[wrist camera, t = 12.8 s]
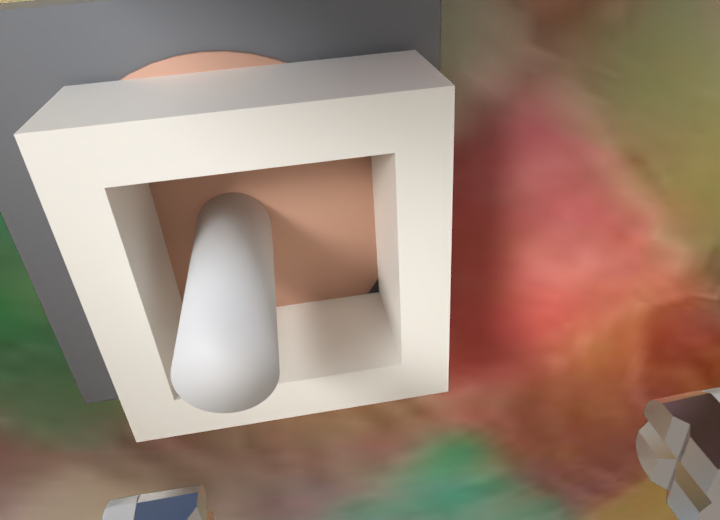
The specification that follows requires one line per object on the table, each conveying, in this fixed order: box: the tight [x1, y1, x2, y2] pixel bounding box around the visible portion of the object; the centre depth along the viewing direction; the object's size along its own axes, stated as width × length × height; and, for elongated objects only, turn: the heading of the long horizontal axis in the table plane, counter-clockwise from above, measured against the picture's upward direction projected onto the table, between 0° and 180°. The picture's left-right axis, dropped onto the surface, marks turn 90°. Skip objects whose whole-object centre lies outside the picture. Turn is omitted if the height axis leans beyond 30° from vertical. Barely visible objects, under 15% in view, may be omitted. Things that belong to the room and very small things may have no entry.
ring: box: [14, 50, 455, 442], centre depth 18 cm, size 10×10×4 cm
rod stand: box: [0, 0, 441, 413], centre depth 17 cm, size 14×14×9 cm
